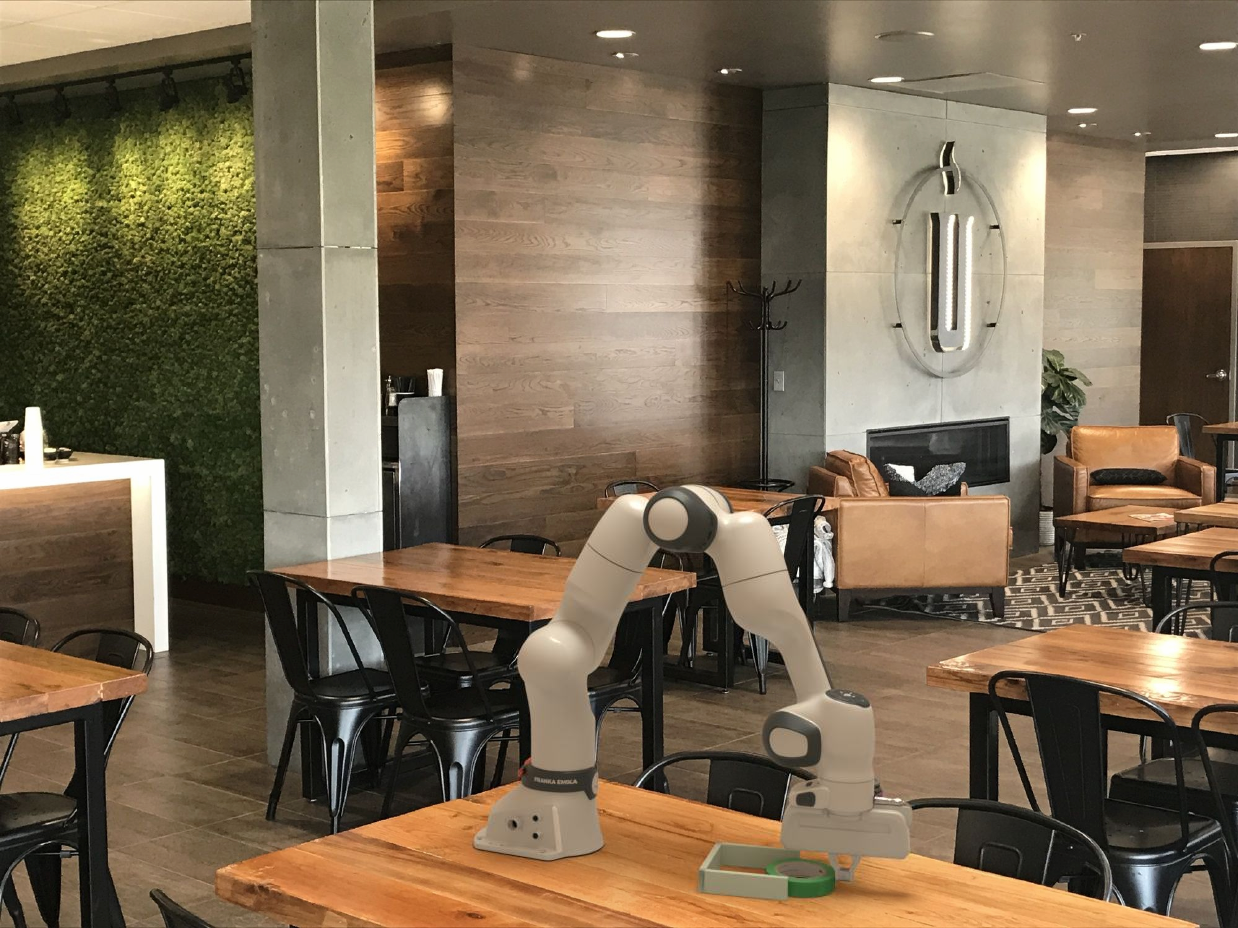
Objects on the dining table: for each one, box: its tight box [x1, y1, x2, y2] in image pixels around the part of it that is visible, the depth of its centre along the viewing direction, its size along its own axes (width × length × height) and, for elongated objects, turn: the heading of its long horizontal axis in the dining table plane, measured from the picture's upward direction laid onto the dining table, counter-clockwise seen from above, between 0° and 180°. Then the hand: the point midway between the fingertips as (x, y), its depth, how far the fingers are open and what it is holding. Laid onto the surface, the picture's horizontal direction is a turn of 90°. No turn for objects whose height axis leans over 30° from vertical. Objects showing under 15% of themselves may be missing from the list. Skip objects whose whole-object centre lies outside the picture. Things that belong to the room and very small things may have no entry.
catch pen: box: [697, 841, 802, 902], centre depth 234 cm, size 14×15×4 cm
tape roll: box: [765, 857, 836, 899], centre depth 232 cm, size 11×11×3 cm
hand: (844, 880), depth 231 cm, fingers closed
